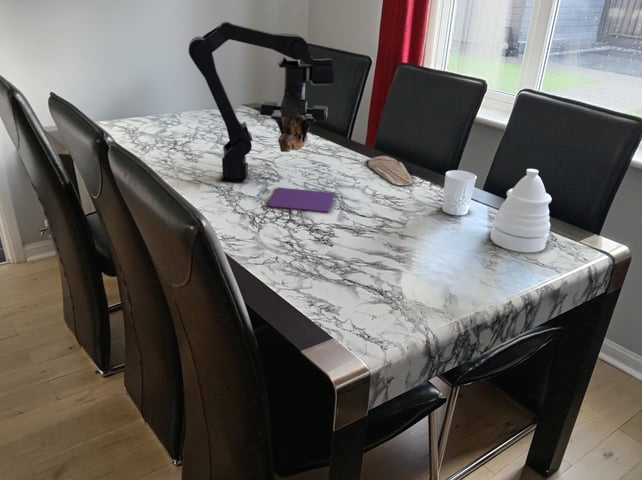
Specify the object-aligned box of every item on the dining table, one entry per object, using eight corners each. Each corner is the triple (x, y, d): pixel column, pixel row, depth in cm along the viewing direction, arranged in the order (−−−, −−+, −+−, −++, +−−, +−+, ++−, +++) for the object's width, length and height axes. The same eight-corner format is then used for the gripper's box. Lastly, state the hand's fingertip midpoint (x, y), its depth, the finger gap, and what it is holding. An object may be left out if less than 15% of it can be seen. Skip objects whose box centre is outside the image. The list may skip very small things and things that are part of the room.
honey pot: (538, 257, 131) (557, 181, 123) (483, 242, 137) (498, 169, 128) (550, 238, 141) (570, 167, 132) (499, 225, 147) (514, 156, 138)
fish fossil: (424, 184, 172) (424, 180, 172) (393, 188, 170) (393, 185, 169) (389, 157, 193) (389, 153, 192) (360, 160, 190) (361, 157, 190)
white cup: (471, 208, 157) (477, 172, 152) (467, 218, 150) (474, 181, 145) (442, 203, 159) (447, 168, 154) (437, 213, 152) (443, 177, 147)
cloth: (267, 206, 150) (267, 205, 150) (278, 189, 162) (278, 187, 162) (328, 212, 149) (328, 211, 149) (334, 194, 161) (334, 192, 161)
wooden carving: (291, 158, 160) (294, 122, 155) (276, 155, 161) (278, 119, 156) (310, 144, 174) (313, 110, 169) (296, 141, 175) (299, 108, 170)
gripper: (255, 87, 152) (255, 145, 160) (325, 92, 150) (322, 151, 158) (264, 80, 162) (264, 135, 169) (329, 85, 160) (326, 141, 168)
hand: (293, 141), depth 166 cm, fingers closed on wooden carving, 5 cm apart
